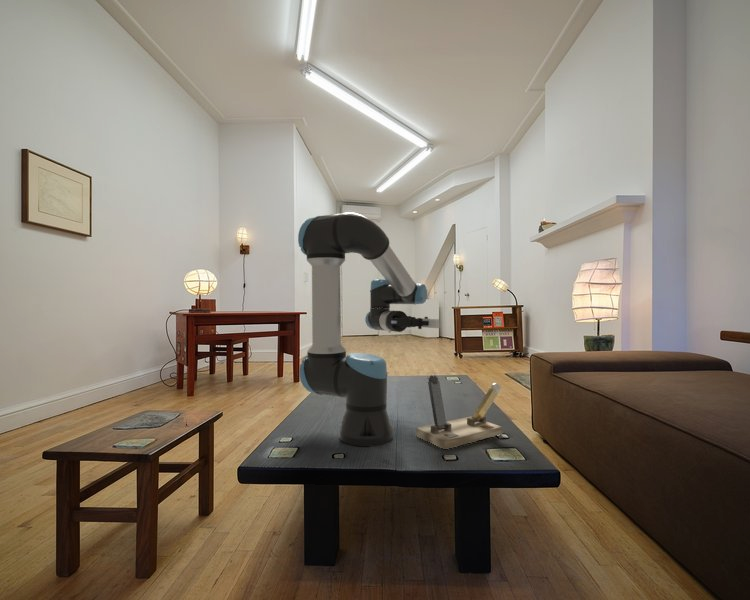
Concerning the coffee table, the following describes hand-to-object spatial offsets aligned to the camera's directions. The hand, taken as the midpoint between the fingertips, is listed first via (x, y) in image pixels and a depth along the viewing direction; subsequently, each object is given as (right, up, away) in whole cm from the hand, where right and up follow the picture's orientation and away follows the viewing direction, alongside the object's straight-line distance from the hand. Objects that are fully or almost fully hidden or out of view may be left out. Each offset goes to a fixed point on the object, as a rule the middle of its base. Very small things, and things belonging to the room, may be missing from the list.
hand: (437, 323), depth 115 cm
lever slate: (-1, -28, -12) cm, 30 cm away
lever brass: (+11, -28, -4) cm, 31 cm away
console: (+5, -32, -8) cm, 33 cm away
